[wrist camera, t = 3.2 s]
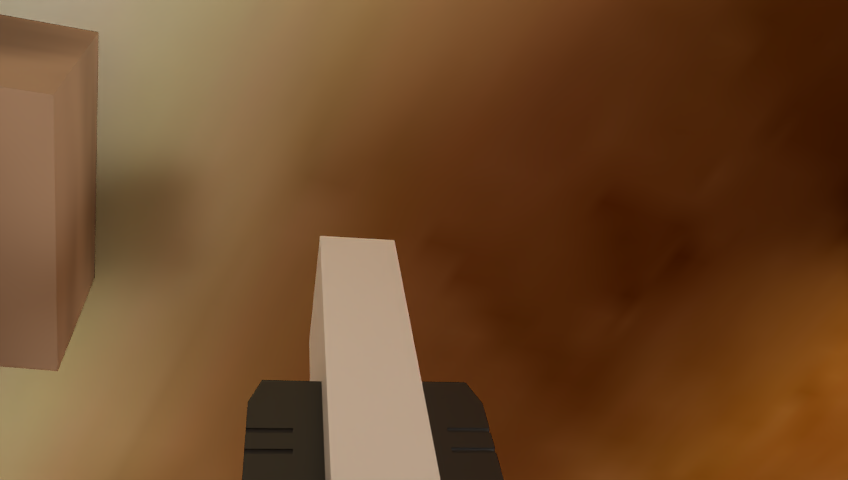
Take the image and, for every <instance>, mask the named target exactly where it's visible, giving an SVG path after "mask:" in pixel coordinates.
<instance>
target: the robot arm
mask: <svg viewBox="0 0 848 480" xmlns="http://www.w3.org/2000/svg"><path fill="white" fill-rule="evenodd" d="M309 356H310V381H281V380H262V381H261V383H260V384H259V386H258V387H257V389H256V390H255V392H254V394H253V395H252V397H251V398H250V400H249V401H248V407H247V421H246V435H245V448H244V462H243V476H242V480H504V479H503V476H502V472H501V468H500V465H499V461H498V458H497V454H496V453H495V447H494V443H493V439H492V436H491V433H489V425H488V421H487V418H486V414H485V411H484V407H483V404H482V402H481V401H480V400H479V399H478V397H477V396H476V395H475V394H474V393H473V391H472V390H471V389H470V388H469V386H468V385H467V384H466V383H464V382H422V381H421V376H420V371H419V365H418V360H417V355H416V350H415V345H414V339H413V334H412V329H411V324H410V319H409V313H408V308H407V303H406V298H405V293H404V287H403V282H402V277H401V272H400V267H399V261H398V256H397V251H396V246H395V240H383V239H366V238H349V237H332V236H320V240H319V250H318V260H317V270H316V280H315V289H314V299H313V309H312V319H311V328H310V338H309Z"/></svg>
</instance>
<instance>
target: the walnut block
mask: <svg viewBox="0 0 848 480" xmlns="http://www.w3.org/2000/svg"><path fill="white" fill-rule="evenodd" d="M97 96H98V32H94V31H89V30H83V29H78V28H72V27H66V26H61V25H55V24H50V23H44V22H39V21H33V20H28V19H22V18H16V17H11V16H5V15H0V366H3V367H15V368H28V369H40V370H52V371H58V369H59V366H60V364H61V361H62V359H63V356H64V354H65V351H66V349H67V346H68V344H69V341H70V339H71V336H72V334H73V331H74V329H75V326H76V323H77V321H78V318H79V316H80V313H81V311H82V308H83V306H84V303H85V301H86V298H87V296H88V293H89V291H90V288H91V286H92V283H93V281H94V278H95V223H96V159H97Z"/></svg>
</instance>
